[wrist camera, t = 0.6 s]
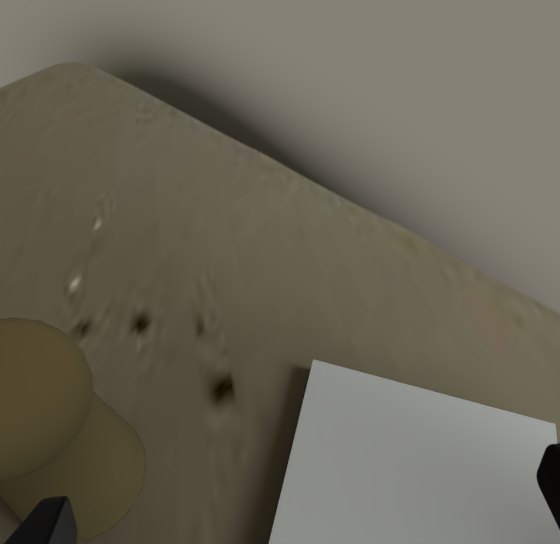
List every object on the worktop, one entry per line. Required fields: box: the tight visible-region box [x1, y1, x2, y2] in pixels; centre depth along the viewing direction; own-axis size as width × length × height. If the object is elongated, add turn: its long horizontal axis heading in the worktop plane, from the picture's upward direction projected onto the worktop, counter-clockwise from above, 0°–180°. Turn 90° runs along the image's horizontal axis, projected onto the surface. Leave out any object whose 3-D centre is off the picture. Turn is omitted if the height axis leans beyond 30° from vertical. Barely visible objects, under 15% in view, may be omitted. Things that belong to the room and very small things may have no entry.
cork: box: [0, 318, 146, 542], centre depth 18 cm, size 6×6×11 cm
